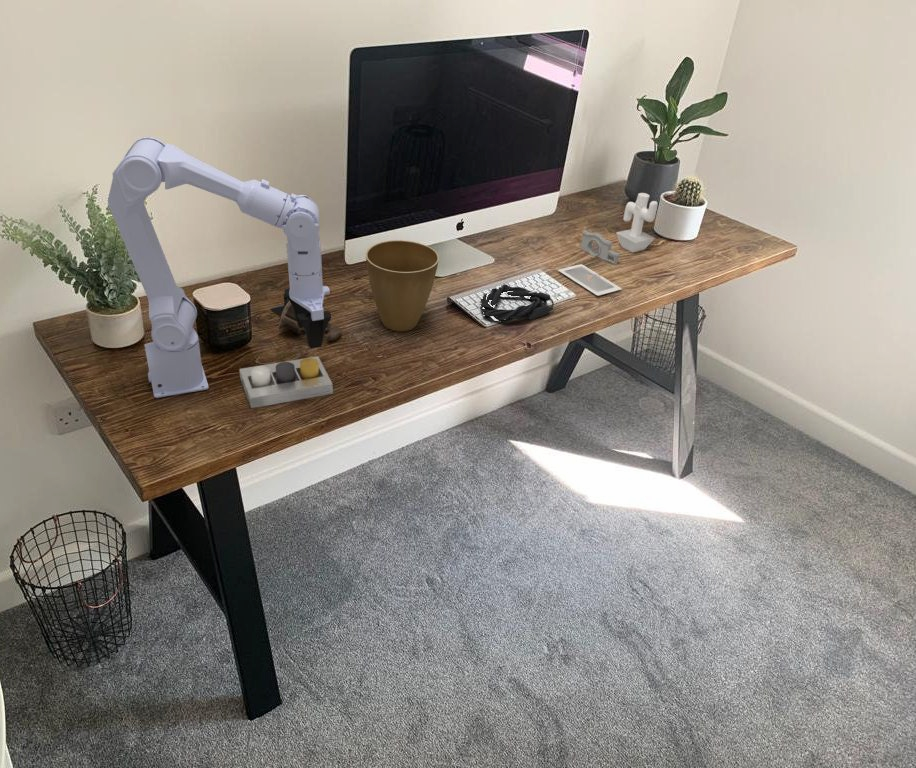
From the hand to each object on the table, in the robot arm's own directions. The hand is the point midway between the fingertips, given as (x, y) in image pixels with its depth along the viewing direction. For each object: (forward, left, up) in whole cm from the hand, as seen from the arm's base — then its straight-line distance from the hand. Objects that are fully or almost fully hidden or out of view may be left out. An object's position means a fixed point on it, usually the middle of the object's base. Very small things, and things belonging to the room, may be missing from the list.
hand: (309, 336), depth 147 cm
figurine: (+97, +36, -10) cm, 104 cm away
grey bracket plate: (+85, +34, -10) cm, 92 cm away
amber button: (0, 0, -9) cm, 9 cm away
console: (-5, 0, -10) cm, 11 cm away
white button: (-9, 0, -9) cm, 13 cm away
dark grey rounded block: (-5, 0, -9) cm, 10 cm away
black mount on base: (+4, +29, -11) cm, 31 cm away
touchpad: (+74, +22, -11) cm, 78 cm away
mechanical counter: (+4, +17, -10) cm, 20 cm away
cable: (+50, +15, -10) cm, 53 cm away
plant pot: (+24, +16, -10) cm, 30 cm away
